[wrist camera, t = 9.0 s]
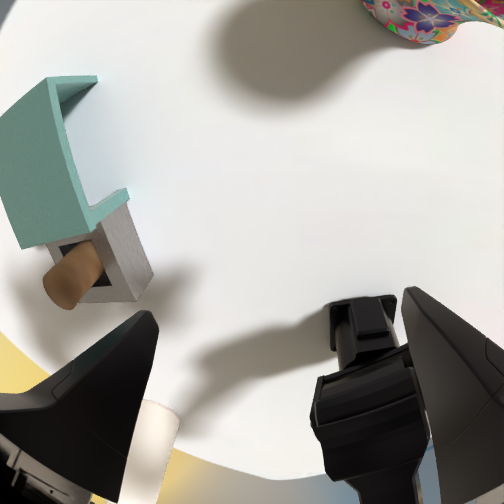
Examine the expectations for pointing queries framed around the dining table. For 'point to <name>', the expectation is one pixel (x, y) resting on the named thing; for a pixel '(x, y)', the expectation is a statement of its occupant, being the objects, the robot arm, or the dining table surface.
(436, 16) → the mug
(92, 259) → the peg
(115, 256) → the station
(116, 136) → the dining table surface
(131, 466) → the alcohol
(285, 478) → the dining table surface
